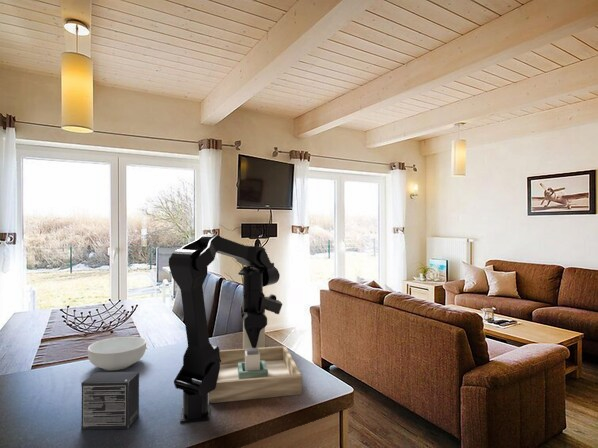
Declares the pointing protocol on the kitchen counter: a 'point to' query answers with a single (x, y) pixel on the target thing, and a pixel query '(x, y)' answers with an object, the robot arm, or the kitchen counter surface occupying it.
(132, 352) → the cereal bowl
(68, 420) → the kitchen counter surface
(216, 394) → the walled box
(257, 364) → the grey plug
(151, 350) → the kitchen counter surface
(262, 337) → the travel mug
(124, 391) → the small box
